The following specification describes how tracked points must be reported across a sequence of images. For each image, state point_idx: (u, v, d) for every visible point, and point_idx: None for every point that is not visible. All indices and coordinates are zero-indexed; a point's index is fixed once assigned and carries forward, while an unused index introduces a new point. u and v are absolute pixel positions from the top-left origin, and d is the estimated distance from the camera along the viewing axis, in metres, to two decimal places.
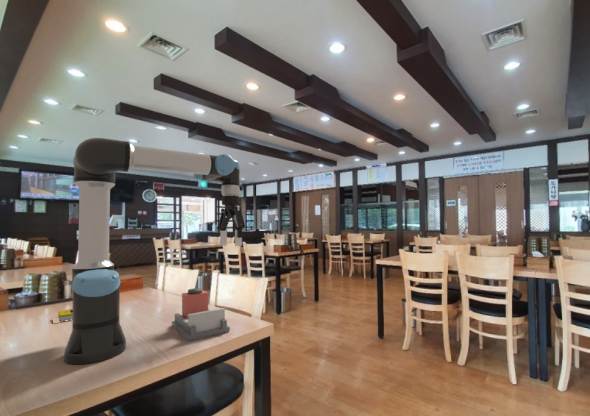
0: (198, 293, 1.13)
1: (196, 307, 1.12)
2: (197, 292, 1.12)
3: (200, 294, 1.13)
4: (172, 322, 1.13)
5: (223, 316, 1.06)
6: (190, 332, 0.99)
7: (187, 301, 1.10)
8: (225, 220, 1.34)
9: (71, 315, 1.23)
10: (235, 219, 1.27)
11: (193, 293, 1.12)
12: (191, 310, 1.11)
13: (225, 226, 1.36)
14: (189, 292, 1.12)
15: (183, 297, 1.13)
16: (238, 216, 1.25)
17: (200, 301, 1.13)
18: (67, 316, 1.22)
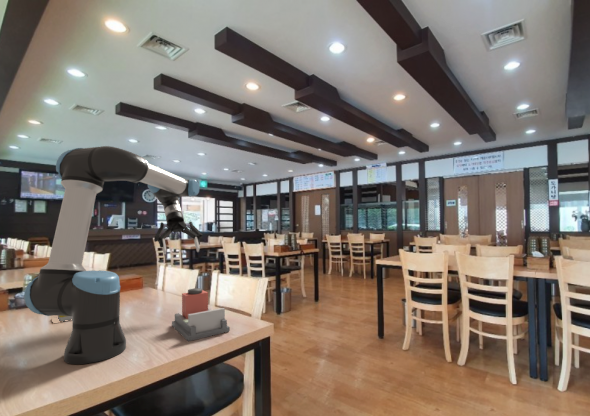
0: (198, 293, 1.13)
1: (196, 307, 1.12)
2: (197, 292, 1.12)
3: (200, 294, 1.13)
4: (172, 322, 1.13)
5: (223, 316, 1.06)
6: (190, 332, 0.99)
7: (187, 301, 1.10)
8: (169, 232, 1.36)
9: None
10: (190, 231, 1.41)
11: (193, 293, 1.12)
12: (191, 310, 1.11)
13: (164, 238, 1.34)
14: (189, 292, 1.12)
15: (183, 297, 1.13)
16: None
17: (200, 301, 1.13)
18: (67, 316, 1.22)
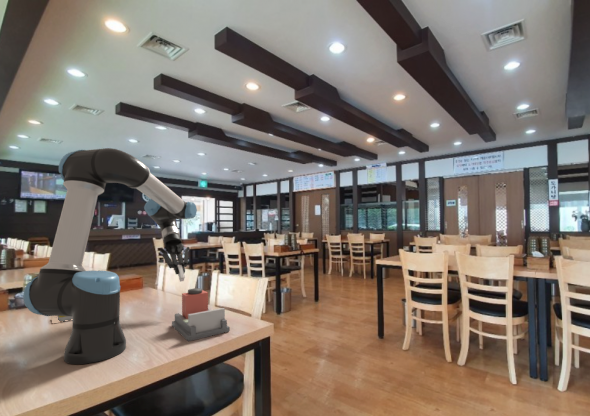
0: (198, 293, 1.13)
1: (196, 307, 1.12)
2: (197, 292, 1.12)
3: (200, 294, 1.13)
4: (172, 322, 1.13)
5: (223, 316, 1.06)
6: (190, 332, 0.99)
7: (187, 301, 1.10)
8: None
9: None
10: (181, 257, 1.36)
11: (193, 293, 1.12)
12: (191, 310, 1.11)
13: None
14: (189, 292, 1.12)
15: (183, 297, 1.13)
16: (187, 255, 1.38)
17: (200, 301, 1.13)
18: (66, 316, 1.22)
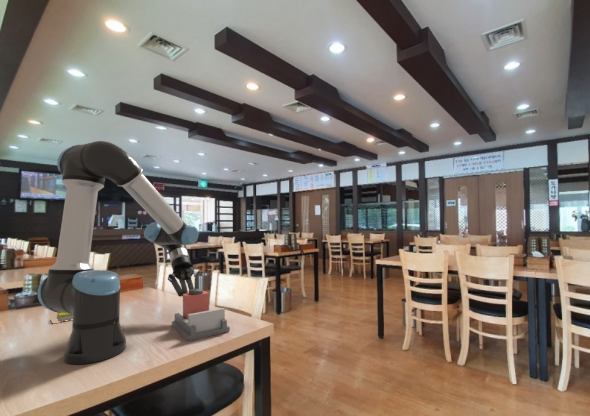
0: (199, 293, 1.12)
1: (197, 308, 1.11)
2: (198, 292, 1.11)
3: (201, 294, 1.12)
4: (172, 322, 1.13)
5: (223, 316, 1.06)
6: (190, 332, 0.99)
7: (188, 302, 1.09)
8: None
9: (70, 315, 1.23)
10: (191, 283, 1.24)
11: (194, 293, 1.11)
12: (192, 310, 1.10)
13: None
14: (190, 292, 1.11)
15: (183, 298, 1.12)
16: (198, 281, 1.26)
17: (201, 301, 1.12)
18: (66, 316, 1.22)
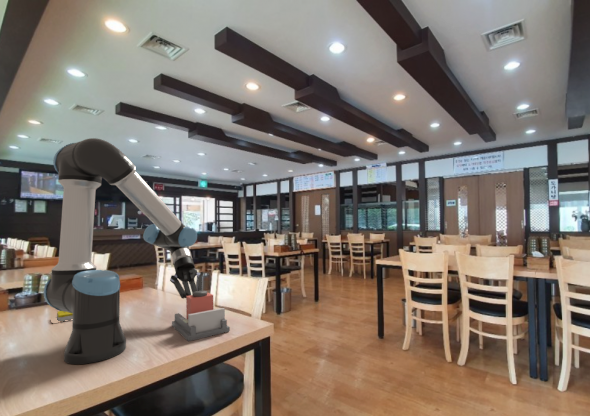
0: (203, 296, 1.08)
1: (201, 311, 1.07)
2: (202, 295, 1.08)
3: (205, 297, 1.09)
4: (172, 322, 1.13)
5: (223, 316, 1.06)
6: (190, 332, 0.99)
7: (192, 304, 1.06)
8: None
9: (70, 315, 1.23)
10: None
11: (198, 296, 1.07)
12: None
13: None
14: (194, 295, 1.08)
15: (187, 300, 1.08)
16: (201, 282, 1.22)
17: (205, 304, 1.08)
18: (66, 316, 1.22)
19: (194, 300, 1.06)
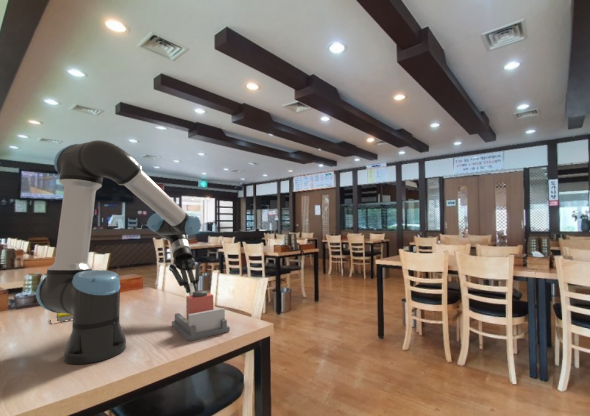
0: (203, 296, 1.08)
1: (201, 311, 1.07)
2: (202, 295, 1.08)
3: (205, 297, 1.09)
4: (172, 322, 1.13)
5: (223, 316, 1.06)
6: (190, 332, 0.99)
7: (192, 304, 1.06)
8: None
9: (69, 315, 1.23)
10: (192, 273, 1.26)
11: (198, 296, 1.07)
12: None
13: None
14: (194, 295, 1.08)
15: (187, 300, 1.08)
16: None
17: (205, 304, 1.08)
18: (65, 316, 1.22)
19: (194, 300, 1.06)
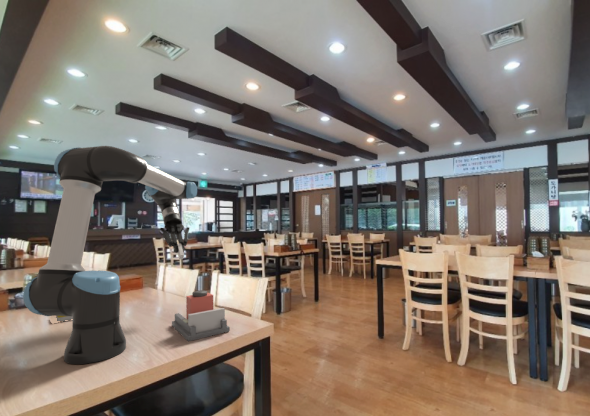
0: (203, 296, 1.08)
1: (201, 311, 1.07)
2: (202, 295, 1.08)
3: (205, 297, 1.09)
4: (172, 322, 1.13)
5: (223, 316, 1.06)
6: (190, 332, 0.99)
7: (192, 304, 1.06)
8: None
9: None
10: None
11: (198, 296, 1.07)
12: None
13: None
14: (194, 295, 1.08)
15: (187, 300, 1.08)
16: (187, 235, 1.39)
17: (205, 304, 1.08)
18: (65, 316, 1.22)
19: (194, 300, 1.06)
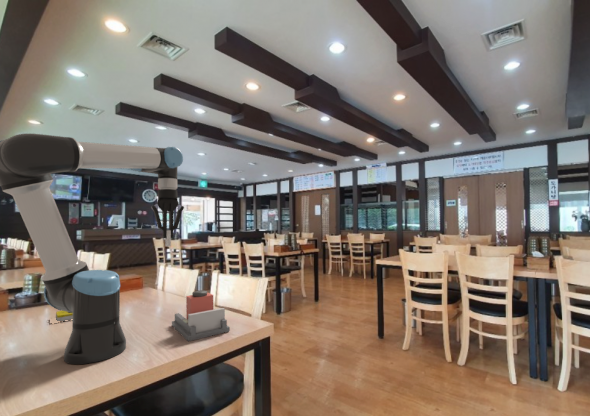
0: (203, 296, 1.08)
1: (201, 311, 1.07)
2: (202, 295, 1.08)
3: (205, 297, 1.09)
4: (172, 322, 1.13)
5: (223, 316, 1.06)
6: (190, 332, 0.99)
7: (192, 304, 1.06)
8: None
9: (68, 315, 1.23)
10: None
11: (198, 296, 1.07)
12: None
13: None
14: (194, 295, 1.08)
15: (187, 300, 1.08)
16: None
17: (205, 304, 1.08)
18: (64, 316, 1.22)
19: (194, 300, 1.06)
